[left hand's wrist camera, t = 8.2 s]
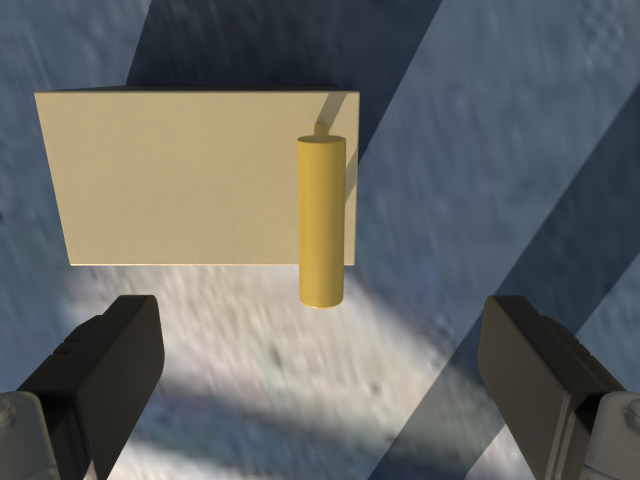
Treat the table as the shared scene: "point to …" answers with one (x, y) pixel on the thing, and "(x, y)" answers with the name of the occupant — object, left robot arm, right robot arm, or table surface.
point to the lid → (208, 179)
